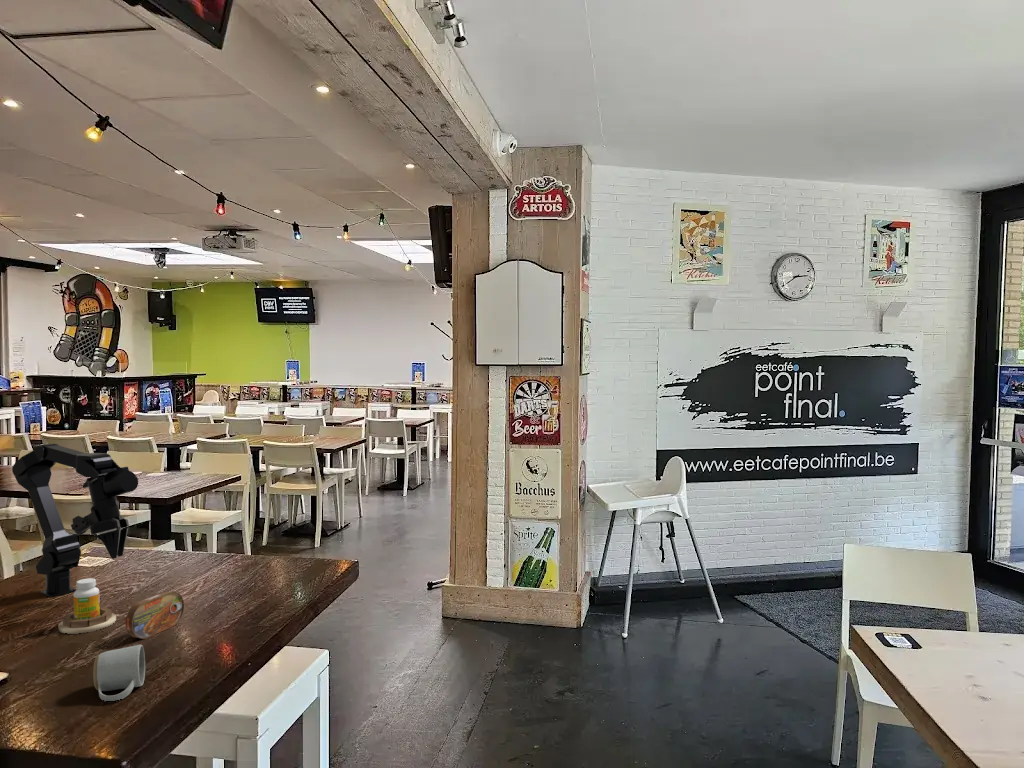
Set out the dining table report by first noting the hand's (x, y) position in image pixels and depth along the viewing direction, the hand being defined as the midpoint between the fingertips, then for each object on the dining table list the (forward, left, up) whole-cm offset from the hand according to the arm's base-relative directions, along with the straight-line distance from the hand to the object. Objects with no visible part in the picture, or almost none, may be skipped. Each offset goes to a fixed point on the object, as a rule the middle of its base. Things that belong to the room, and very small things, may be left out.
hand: (117, 557), depth 188 cm
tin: (+29, -6, -12) cm, 32 cm away
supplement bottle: (+11, -13, -11) cm, 20 cm away
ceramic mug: (+54, -25, -12) cm, 61 cm away
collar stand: (+11, -13, -12) cm, 21 cm away
